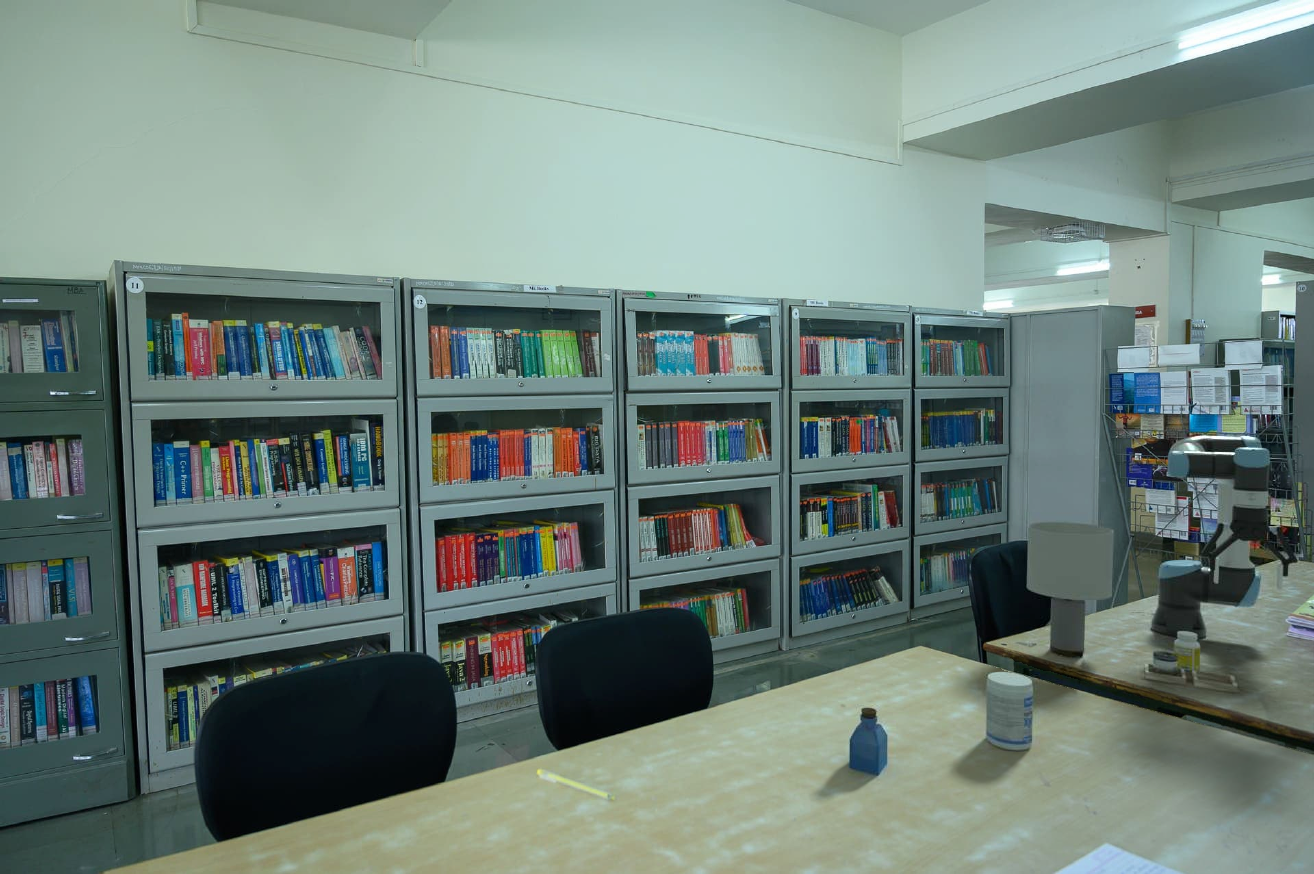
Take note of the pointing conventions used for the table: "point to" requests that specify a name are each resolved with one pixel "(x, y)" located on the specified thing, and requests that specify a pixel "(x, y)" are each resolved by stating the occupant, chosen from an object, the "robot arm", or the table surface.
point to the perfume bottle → (868, 744)
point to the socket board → (1194, 679)
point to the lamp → (1069, 576)
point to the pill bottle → (1187, 651)
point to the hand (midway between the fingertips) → (1247, 585)
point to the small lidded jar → (1165, 663)
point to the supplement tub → (1009, 710)
